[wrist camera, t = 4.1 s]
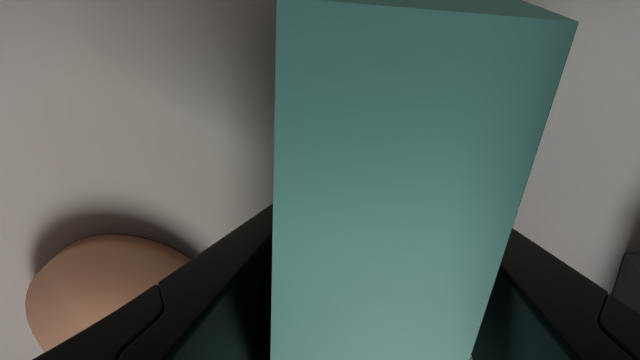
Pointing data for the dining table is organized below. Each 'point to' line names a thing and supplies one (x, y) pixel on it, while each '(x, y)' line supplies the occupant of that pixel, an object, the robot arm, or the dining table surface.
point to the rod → (401, 168)
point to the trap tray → (629, 282)
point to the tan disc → (93, 283)
